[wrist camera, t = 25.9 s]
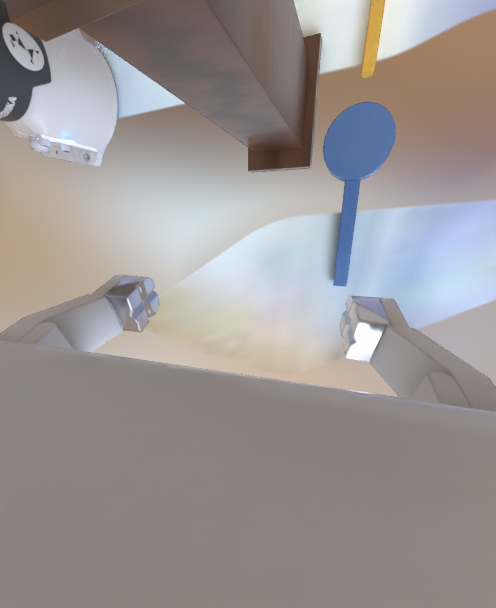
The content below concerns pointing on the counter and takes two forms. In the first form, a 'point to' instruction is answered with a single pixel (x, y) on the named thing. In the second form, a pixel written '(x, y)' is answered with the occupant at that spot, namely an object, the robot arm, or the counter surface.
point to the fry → (372, 38)
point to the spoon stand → (209, 62)
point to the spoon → (355, 164)
